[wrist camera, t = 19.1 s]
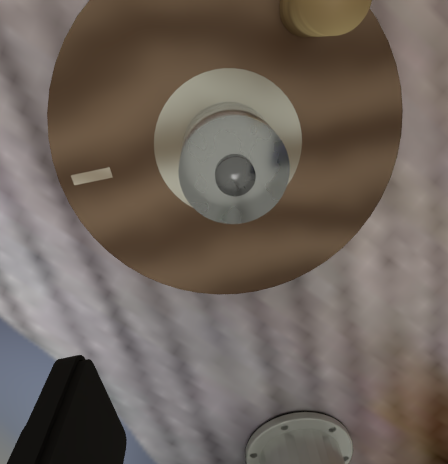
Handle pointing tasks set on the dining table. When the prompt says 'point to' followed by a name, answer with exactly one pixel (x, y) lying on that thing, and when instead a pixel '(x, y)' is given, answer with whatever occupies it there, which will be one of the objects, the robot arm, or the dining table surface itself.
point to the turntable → (212, 92)
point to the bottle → (232, 164)
